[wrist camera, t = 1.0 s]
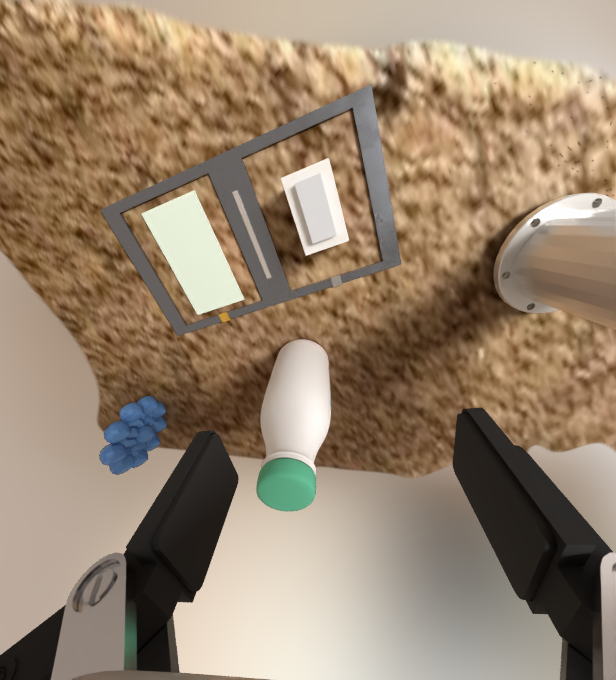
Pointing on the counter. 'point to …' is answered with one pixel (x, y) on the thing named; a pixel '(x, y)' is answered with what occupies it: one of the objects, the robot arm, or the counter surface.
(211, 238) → the port pad
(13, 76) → the counter surface
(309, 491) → the milk bottle
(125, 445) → the grapes
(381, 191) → the two-window grey frame
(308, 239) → the plug
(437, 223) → the counter surface
